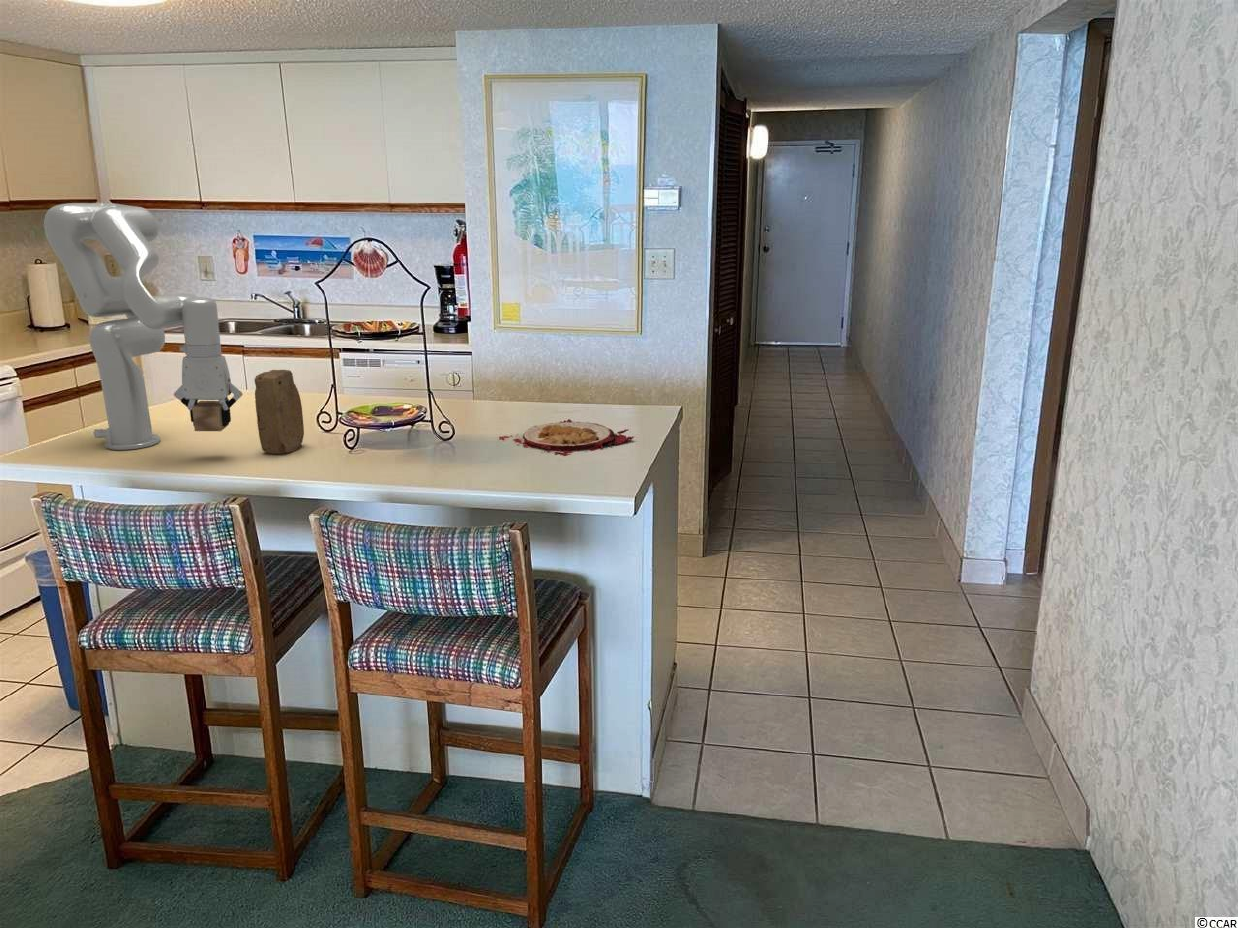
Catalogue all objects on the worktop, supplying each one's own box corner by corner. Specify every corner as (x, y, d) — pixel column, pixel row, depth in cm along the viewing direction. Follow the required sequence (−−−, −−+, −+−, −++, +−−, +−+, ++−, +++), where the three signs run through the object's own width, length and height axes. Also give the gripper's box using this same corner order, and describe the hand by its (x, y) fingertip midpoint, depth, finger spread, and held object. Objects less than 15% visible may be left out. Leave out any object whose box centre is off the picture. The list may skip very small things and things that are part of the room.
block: (283, 456, 217) (274, 376, 211) (257, 454, 219) (247, 374, 213) (310, 445, 227) (302, 368, 221) (285, 443, 229) (276, 366, 223)
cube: (194, 431, 211) (191, 406, 209) (203, 424, 216) (200, 400, 215) (221, 431, 211) (218, 406, 210) (228, 424, 217) (226, 400, 215)
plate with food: (569, 426, 249) (569, 413, 248) (634, 441, 231) (634, 428, 230) (497, 443, 234) (496, 430, 233) (561, 461, 215) (560, 447, 214)
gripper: (159, 353, 204) (168, 429, 209) (237, 354, 206) (244, 429, 211) (170, 347, 211) (179, 420, 216) (246, 348, 213) (253, 421, 218)
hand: (211, 424), depth 214 cm, fingers closed on cube, 6 cm apart
